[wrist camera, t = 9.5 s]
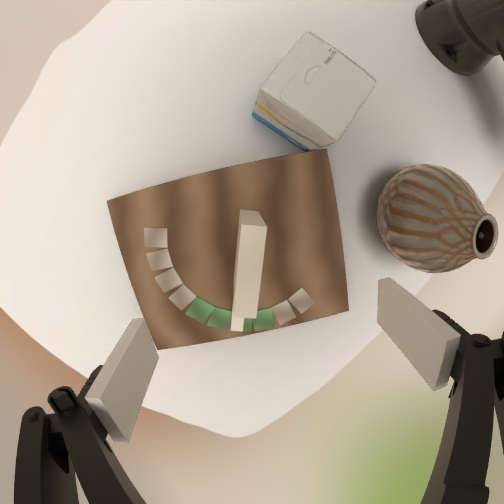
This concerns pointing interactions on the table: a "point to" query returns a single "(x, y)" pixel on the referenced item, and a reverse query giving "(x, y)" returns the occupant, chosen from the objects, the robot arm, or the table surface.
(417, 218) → the vase
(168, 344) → the board
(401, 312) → the robot arm
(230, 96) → the table surface
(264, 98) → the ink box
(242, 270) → the cream dial pointer
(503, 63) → the table surface
